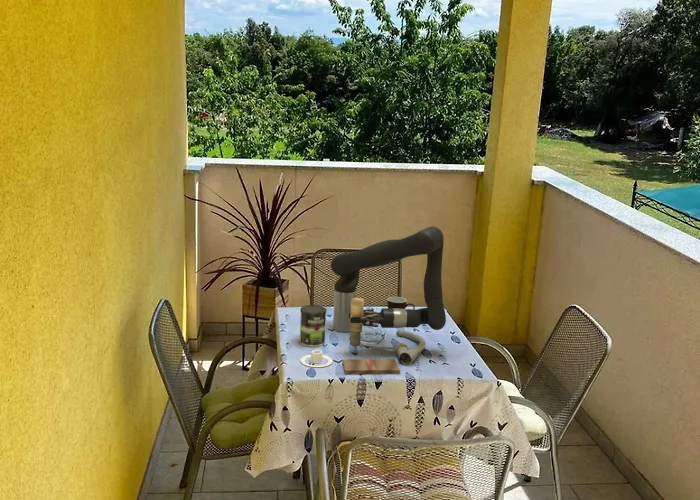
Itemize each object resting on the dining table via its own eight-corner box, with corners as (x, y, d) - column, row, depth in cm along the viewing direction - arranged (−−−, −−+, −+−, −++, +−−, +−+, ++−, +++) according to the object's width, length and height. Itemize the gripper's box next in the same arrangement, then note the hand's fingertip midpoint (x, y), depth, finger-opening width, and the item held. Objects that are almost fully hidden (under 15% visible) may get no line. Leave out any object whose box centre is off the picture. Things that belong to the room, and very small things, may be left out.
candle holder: (300, 355, 256) (300, 345, 255) (331, 356, 257) (332, 345, 256) (300, 368, 244) (300, 357, 243) (333, 369, 245) (333, 358, 244)
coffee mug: (382, 321, 297) (383, 299, 294) (392, 316, 304) (393, 295, 301) (404, 327, 290) (406, 305, 288) (414, 322, 297) (416, 301, 295)
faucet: (347, 355, 264) (381, 335, 287) (411, 365, 250) (441, 343, 273) (346, 344, 263) (380, 324, 286) (411, 353, 249) (441, 332, 272)
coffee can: (328, 345, 266) (330, 312, 263) (304, 348, 263) (305, 314, 259) (320, 336, 276) (321, 303, 272) (296, 338, 272) (297, 305, 268)
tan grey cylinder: (353, 340, 262) (355, 297, 258) (363, 343, 259) (366, 299, 255) (346, 344, 258) (348, 300, 254) (356, 347, 256) (359, 302, 251)
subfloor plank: (345, 374, 241) (345, 369, 240) (342, 363, 250) (342, 358, 250) (399, 373, 243) (400, 369, 243) (394, 362, 253) (395, 358, 252)
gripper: (390, 302, 264) (347, 302, 262) (397, 315, 250) (352, 314, 248) (389, 320, 266) (346, 320, 264) (396, 334, 252) (351, 333, 250)
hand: (349, 317), depth 256 cm, fingers closed on tan grey cylinder, 4 cm apart
